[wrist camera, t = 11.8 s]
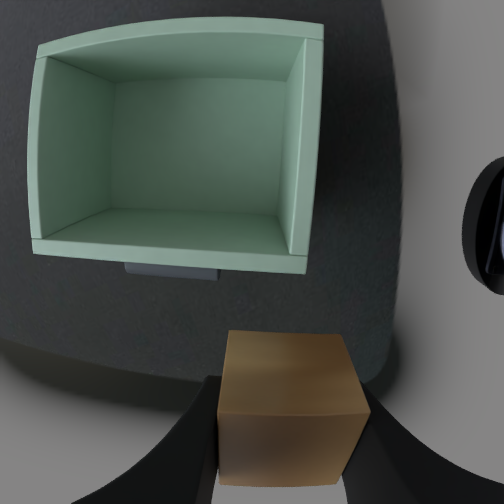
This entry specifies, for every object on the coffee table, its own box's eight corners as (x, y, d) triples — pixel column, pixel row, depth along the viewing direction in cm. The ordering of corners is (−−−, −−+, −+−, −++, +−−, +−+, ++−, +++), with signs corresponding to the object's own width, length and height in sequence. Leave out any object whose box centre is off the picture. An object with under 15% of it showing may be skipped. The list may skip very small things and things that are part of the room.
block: (341, 333, 11) (371, 412, 7) (321, 409, 12) (336, 484, 8) (229, 328, 11) (217, 412, 7) (227, 407, 12) (218, 485, 8)
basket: (111, 76, 14) (38, 44, 7) (297, 74, 14) (324, 24, 8) (108, 243, 17) (39, 292, 10) (283, 254, 17) (299, 319, 10)
